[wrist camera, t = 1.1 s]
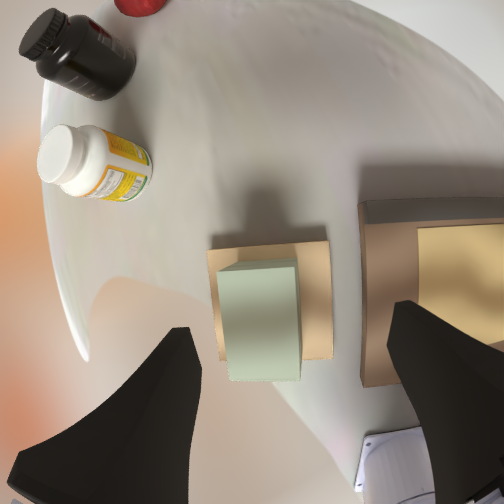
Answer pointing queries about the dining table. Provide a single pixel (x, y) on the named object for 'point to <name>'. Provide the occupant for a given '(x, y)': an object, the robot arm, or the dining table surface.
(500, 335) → the dock
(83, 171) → the supplement bottle
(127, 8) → the onion
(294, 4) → the dining table surface
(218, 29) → the dining table surface
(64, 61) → the supplement bottle
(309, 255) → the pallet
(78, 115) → the dining table surface
